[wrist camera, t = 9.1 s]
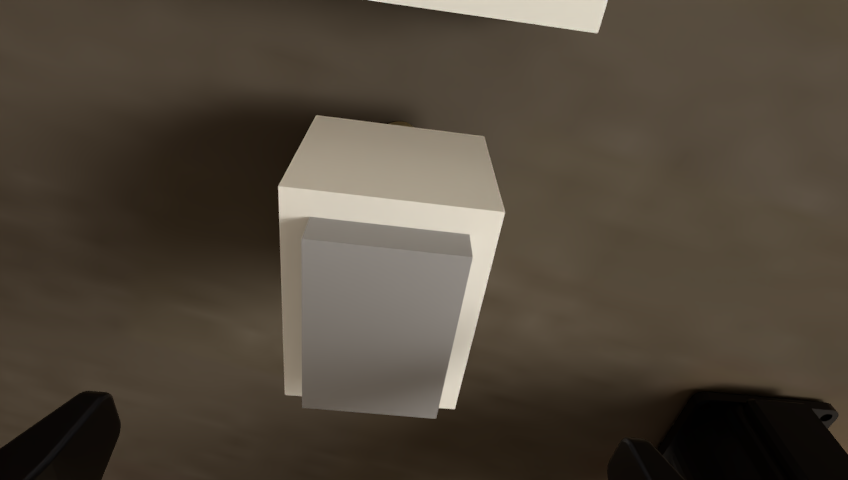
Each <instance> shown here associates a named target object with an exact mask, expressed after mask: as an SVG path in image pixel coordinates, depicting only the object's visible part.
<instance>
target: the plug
mask: <svg viewBox="0 0 848 480" xmlns="http://www.w3.org/2000/svg"><path fill="white" fill-rule="evenodd" d="M278 198H279V229H280V261H281V292H282V323H283V355H284V386H285V395H292V396H302V408H312V409H324V410H336V411H348V412H360V413H372V414H384V415H396V416H408V417H420V418H432V419H436V417H437V413H438V408H445V409H455V407H456V403H457V399H458V395H459V391H460V387H461V383H462V379H463V375H464V371H465V368H466V364H467V360H468V356H469V352H470V348H471V344H472V340H473V336H474V332H475V328H476V324H477V320H478V317H479V313H480V309H481V305H482V301H483V297H484V293H485V289H486V285H487V281H488V277H489V273H490V270H491V266H492V262H493V258H494V254H495V250H496V246H497V242H498V238H499V234H500V230H501V226H502V222H503V219H504V215H505V210H504V206H503V203H502V199H501V195H500V192H499V188H498V185H497V181H496V177H495V174H494V170H493V166H492V163H491V159H490V156H489V152H488V148H487V145H486V141H485V137H484V136H478V135H470V134H462V133H454V132H446V131H438V130H430V129H423V128H415V127H413V126H412V125H410V124H409V123H406V122H403V121H395V122H391V123H389V124H383V123H375V122H367V121H359V120H351V119H343V118H335V117H327V116H319V115H316V116H315V118H314V120H313V122H312V124H311V126H310V127H309V129H308V131H307V133H306V135H305V137H304V139H303V141H302V142H301V144H300V146H299V148H298V150H297V152H296V154H295V155H294V157H293V159H292V161H291V163H290V165H289V167H288V169H287V170H286V172H285V174H284V176H283V178H282V180H281V182H280V183H279V185H278Z"/></svg>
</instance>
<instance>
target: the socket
mask: <svg viewBox="0 0 848 480" xmlns="http://www.w3.org/2000/svg"><path fill="white" fill-rule="evenodd" d="M370 1H377V2H384V3H391V4H398V5H405V6H412V7H419V8H426V9H433V10H440V11H446V12H453V13H460V14H467V15H474V16H481V17H488V18H495V19H502V20H509V21H516V22H523V23H530V24H537V25H544V26H551V27H558V28H565V29H572V30H578V31H585V32H592V33H598V31H599V28H600V24H601V21H602V18H603V15H604V11H605V8H606V5H607V1H608V0H370Z"/></svg>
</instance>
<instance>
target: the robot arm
mask: <svg viewBox="0 0 848 480" xmlns="http://www.w3.org/2000/svg"><path fill="white" fill-rule="evenodd" d="M837 417H838V412H837V411H836V410H835V409H834V408H833V406H832V405H831V404H829V403H823V402H812V401H801V400H790V399H779V398H768V397H757V396H746V395H735V394H724V393H713V392H701V393H697V394H696V395H694V396H693V397H692V398H691V399H690V400H689V402H688V404H687V405H686V407H685V408H684V410H683V411H682V413H681V414H680V416H679V418H678V419H677V421H676V422H675V424H674V425H673V427H672V428H671V430H670V432H669V433H668V435H667V436H666V438H665V439H664V441H663V442H662V444H661V446H660V447H659V449H658V450H657V449H656V448H655V447H654V446H653V445H652V444H651V443H650V442H649V441H647V440H646V439H642V438H630V437H625V438H624V439H622V440H621V442H620V443H619V445H618V447H617V449H616V450H615V452H614V454H613V456H612V458H611V459H610V461H609V464H608V470H607V474H608V480H848V454H847V453H846V452H845V451H844V449H843V448H842V447H841V445H840V444H839V443H838V442H837V440H836V439H835V438H834V437H833V435H832V434H831V433H830V431H829V430H828V428H829V427H830V426H831V424H832V423H833V422H834V421H835V420H836V419H837ZM120 428H121V423H120V419H119V416H118V413H117V409H116V406H115V403H114V400H113V397H112V395H110V394H109V393H107V392H97V391H85V392H82V393H80V394H78V395H76V396H75V397H73V398H72V399H71V400H69V401H68V402H66V403H65V404H63V405H62V406H61V407H59V408H58V409H56V410H55V411H53V412H52V413H50V414H49V415H48V416H46V417H45V418H43V419H42V420H40V421H39V422H38V423H36V424H35V425H33V426H32V427H30V428H29V429H28V430H26V431H25V432H23V433H22V434H20V435H19V436H18V437H16V438H15V439H13V440H12V441H10V442H9V443H8V444H6V445H5V446H3V447H2V448H0V480H101V479H102V477H103V474H104V472H105V469H106V467H107V464H108V462H109V459H110V457H111V454H112V452H113V449H114V447H115V444H116V442H117V439H118V437H119V433H120Z"/></svg>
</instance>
